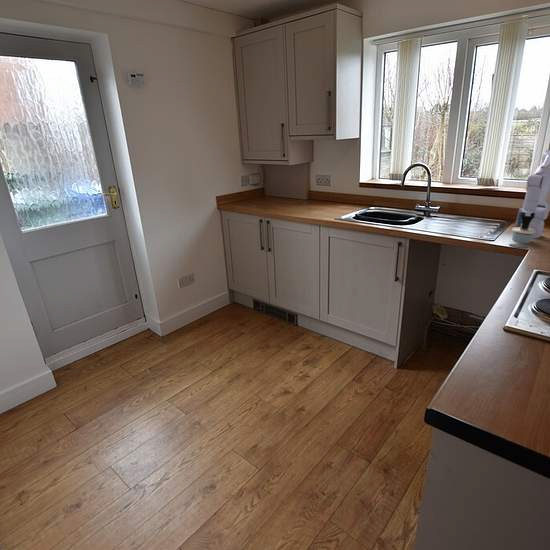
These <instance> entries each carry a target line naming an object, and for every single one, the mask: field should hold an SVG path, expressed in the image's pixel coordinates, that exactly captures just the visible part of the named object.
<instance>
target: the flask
mask: <svg viewBox="0 0 550 550" xmlns="http://www.w3.org/2000/svg"><path fill="white" fill-rule="evenodd" d="M522 212H523V211H521V210H519V211H517V216H516V220H515V224H514V227H520V226H521V223H522V217H521V214H522Z"/></svg>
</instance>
